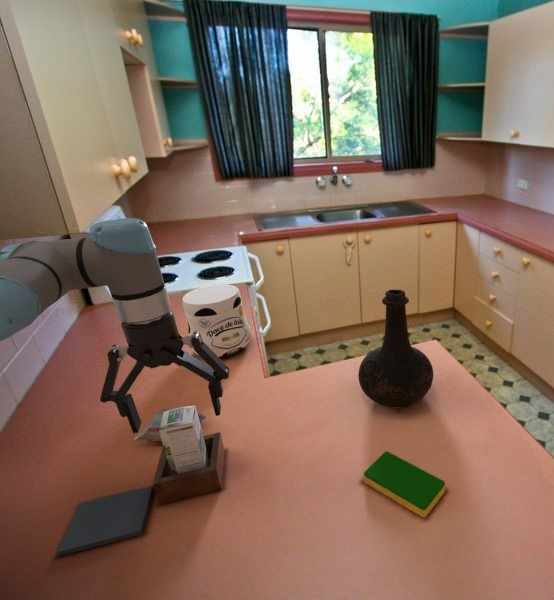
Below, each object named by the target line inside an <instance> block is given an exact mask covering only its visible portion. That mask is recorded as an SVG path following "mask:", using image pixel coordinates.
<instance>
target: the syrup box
mask: <svg viewBox="0 0 554 600" xmlns="http://www.w3.org/2000/svg"><path fill="white" fill-rule="evenodd" d="M198 413H199V412H198V410H197V406H196V405H188V406H180V407H175V408H172V409H169V410H168V411H165V412H163V417H162V421H161V426H160V430H159V433H160V436H161V440H162V441H161V443H162V447H163V446H164V450H165V453H166V457H167V460H168V463H169V467H170V470H171V473H172V475H176V474H180V473H185V472H189V471H193V470H198V469H202V468H206V467H210V462H211V460H210V458H209V457H208V453H207V449H206V445H205V441H204V437H203V436H204V434H203V429H202V425H201V423H200V421H199V417H198Z"/></svg>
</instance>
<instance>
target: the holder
mask: <svg viewBox="0 0 554 600" xmlns="http://www.w3.org/2000/svg"><path fill="white" fill-rule="evenodd" d="M203 437H204V441H205V445H206V449H207V453H208V457H209V459H210V463H209V467H206V468H202V469H198V470H193V471H189V472H185V473H180V474H176V475H172V473H171V470H170V467H169V463H168V460H167V457H166V453H165V450H164V446H163V445H162V447H161V448H162V449H161V452H160V456H159V458H158V459H159V460H158V464H157V466H156V471H155V474H154V477H153V480H152V481H153V482H152V486H153V488H154V493H155V496H156V498H157V501H158V504H159V505H164V504H168V503H172V502H176V501H181V500H183V499H188V498H191V497H196V496H201V495H204V494H209V493H212V492H217V491H221V490H222V489H223V488H222V487H223V476H224V464H225V454H226V449H225V446H224V442H223V438H222V435H221V432H214V433H210V434H206V435H203Z"/></svg>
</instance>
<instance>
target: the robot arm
mask: <svg viewBox="0 0 554 600" xmlns="http://www.w3.org/2000/svg"><path fill="white" fill-rule="evenodd" d="M149 229H150V228H149V227H148V225H147V223H146V222H145V221H143V220H142V219H139V218H134V217H123V218H116V219H107V220H103V221H100V222H96V223H94V224H92V225H91V226H90V227H89V236H88V237H81V238H80V237H79V238H68V239H55V240H43V241H39V240H37V241H36V240H31V241H26V242H25V243H15V244H10V245H7V246H5V247H3V248H2V249H1V250H0V342H2V341H4V340H6V339H9V338H10V337H13V336H14V335H16V334H17V333H18V332H21V331H22V330H24V329H26V328H27V327H29V326H30V325H31V324H33V323H34V322H35V320H37V318H38V317H39V316H40V315H41V314H42V313H44V312H45V311H46V310H47V309H48V308H50V307H51V306H52V305H53V304H55V303H56V302H57V301H59V300H60V299H62V297H64V296H65V295H66V294H68V293H69V292H70V291H75V290H84V289H90V288H101V287H104V286H106V287H107V289H108V290H109V293H110V295H111V298H112V299H111V300H112V302H113V305H114V308H115V311H116V314H117V317H118V320H119V321H120V322H121V324H120V326H121V329H122V332H123V334H124V338H125V341H126V344H127V346H120V345H118V344H113V345H112V346H111V347H110V349H109V350H108V352H107V353H106V355H107V359H108V360H107V361H108V367H107V372H106V375H105V379H104V381H103V386H102V390H101V394H100V398H99V401H100V402H101V403H103V404H105V403H108V402H112V403H115V405H116V408H117V410H118V413H119V415H120V417H121V418H125V417H126V418H127V421H128V423H129V426H130V428H131V431H132V433H133V434H138V433H139V431H140V428H141V425H142V420H141V417H140V415H139V411H138V408H137V405H136V403H135V400H134V398H133V394H132V393H128V392H129V391H130V389H131V388H132V387H133V385H134V383H135V381H136V380H137V378H138V376H139V375H140V374H141V372H142V371H143V369H144V368H145V367H146V368H150V370H151V369H156V368H159V367H168V366H171V365H172V364H175V365H177V366H178V367H183V368H185V369H186V370H188V371H190V372H192V373H193V374H195V375H197V376H198V377H200V378H202V379H203V380H205V381H207V382H208V385H207V388H208V392H209V396H210V400H211V403H212V407H213V411H214V414H215V416H216V417H217V416H218V417H219V416H221V410H222V405H221V400H220V398H222V397H223V395H224V387H223V384H222V381H223V380H227V379H229V377H230V368H229V366H228V365H227V364H226V363H225V362H224V361H223V360H222V359H221V358H219V357H218V356H217V355H216V354H215V353H214V352H213V351H212V350H211V349H210V348H209V347H208V346H207V345H206V344H205V343H204V342H203V340H202V337H201V335H200V333H199V332H197V331H195V332H194V333H193V335H190V336H188V335H187V336H182V335H181V334H180V333H179V329H178V325H177V322H176V318H175V315H174V312H173V311H172V310H171V309H172V305H171V301H170V298H169V294H168V290H167V286H166V283H165V281H164V277H163V274H162V273H163V272H162V269H161V266H160V262H159V257H158V254H157V247H156V245H155V243H154V241H153V238H152V235H151V232H150V230H149ZM185 345H186V346H188V347H189V349H191V348H194V350H195V351H196V352H197V354H198V355H199V356H198V355H197V356H198V357H200V358H201V359H202V360H203V361H204V362H205V363H206V364H205V363H204V362H202V361H201V360H199V359H197V358H196V357H194V356H193V355H191V354H189V352H188V351H187V350H185V349H184V346H185ZM126 355H128V356H129V357H130V358H131V359H134V360H135V363H134V364H133V367H132V368H131V370H130V371H129V373H128V374H127V376H126V377H125V379H124V380H123V382H122V384H121V385H120V386H119V388H118V390H114V388H115V385H116V381H117V377H118V374H119V370H120V367H121V362H122V361H123V360H124V359H125V357H126Z"/></svg>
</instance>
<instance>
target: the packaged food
mask: <svg viewBox="0 0 554 600" xmlns="http://www.w3.org/2000/svg"><path fill="white" fill-rule="evenodd" d="M168 410H170V408H169V409H168V408H167V409H166V408H162V409H161V410H160V411H159V412H158V413H156V414H155V415H154V416H153V418H151V420H150V421H149V423H147V425H146V426H145V428H144V429H143V430H142V431H141V432H140V433H139V434H137V435H136V436H135V437H134V438H133V442H137V441H145V442H162V440H161V436H160V433H159V430H160V426H161V421H162V417H163V412H165V411H168ZM197 413H198V417H199V421H200V424H201V423H202V422H203V421H204V420H205V419H206V416H205V415H203V414H201V413H199V412H197Z"/></svg>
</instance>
